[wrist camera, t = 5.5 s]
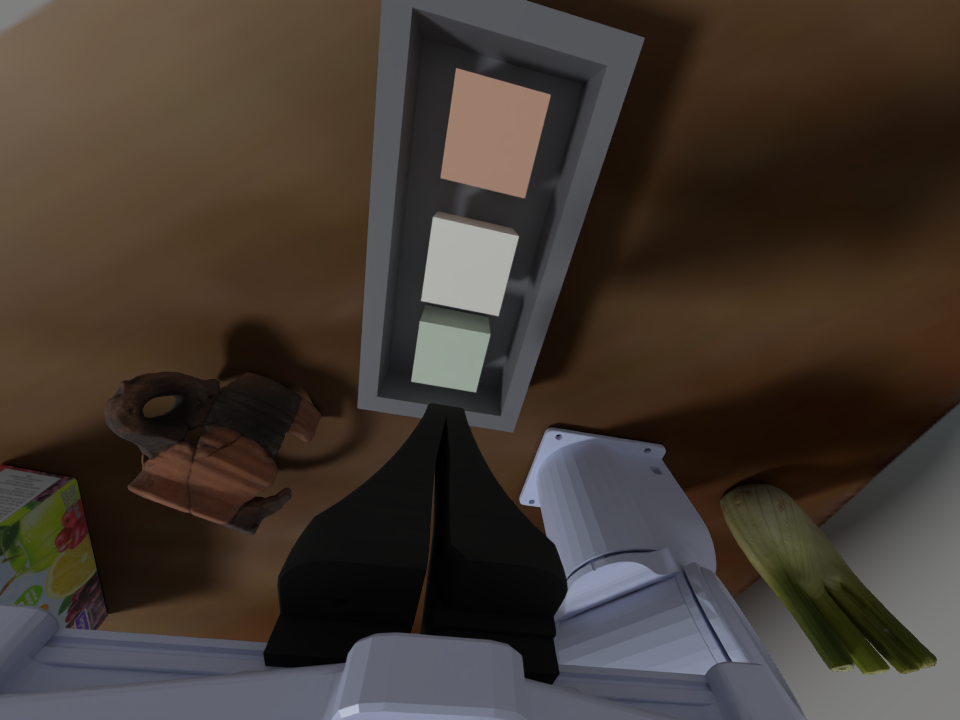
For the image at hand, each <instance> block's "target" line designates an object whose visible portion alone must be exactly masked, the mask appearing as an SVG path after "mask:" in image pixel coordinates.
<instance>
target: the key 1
mask: <svg viewBox="0 0 960 720" xmlns="http://www.w3.org/2000/svg"><path fill="white" fill-rule="evenodd" d="M490 335H491V334H490V326H489V318H488V317H485V316H480V315H475V314H470V313H465V312H460V311H454V310H449V309H444V308H439V307H434V306H429V305H425V308H424V310H423V313H422V316H421V319H420V323H419V330H418V337H417V344H416V351H415V358H414V365H413V372H412V379H411V382H416V383H422V384H428V385H434V386H440V387H446V388H452V389H458V390H464V391H470V392H476V390H477V386H478V382H479V378H480V374H481V371H482V367H483V363H484V359H485V355H486V351H487V347H488V343H489V339H490Z"/></svg>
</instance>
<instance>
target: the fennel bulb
mask: <svg viewBox="0 0 960 720" xmlns="http://www.w3.org/2000/svg"><path fill="white" fill-rule="evenodd" d="M720 505H721V508H722V511H723V515H724V519H725V521H726V523H727V525H728V527H729V529H730V530H731V532H732V534H733V536H734V537H735V539H736V541H737V543H738V545H739V546H740V547H741V549H742V550H743V552H744V553H745V555H746V556H747V558H748V559H749V561H750V562H751V563H752V565H753V566H754V567H755V569H756V570H757V571H758V573H759V574H760V575H761V576H762V577H763V579H764V580H765V581H766V582H767V583H768V585H769V586H770V587H771V588H772V590H773V591H774V592H775V594H776V595H777V596H778V597H779V599H780V600H781V601H782V602H783V604H784V605H785V606H786V608H787V609H788V610H789V611H790V613H791V614H792V615H793V617H794V619H795V620H796V621H797V623H798V624H799V626H800V627H801V629H802V630H803V632H804V633H805V635H806V636H807V637H808V639H809V640H810V641H811V643H812V644H813V646H814V647H815V649H816V651H817V652H818V654H819V655H820V657H821V658H822V659H823V661H824V662H825V663H826V665H827V666H828V668H829V669H830V670H832V671H837V672H838V671H842V672H843V671H850V670H852V669H853V668H854V665H855V664H856V665H857V667H858V668H859V669H860V671H861V672H862V673H863V674H866V675H874V674H876V673H882V672H886V671H887V670H889V668H890V667H889V666H888V665H887V663H886V662H885V661H884V660H883V658H881V656H880V655H879V654H878V652H879V653H880V654H881V655H882V656H883V657H884V658H885V659H886V660H887V661H888V662H889V663H890V664H891V665H892V666H893V667H895V669H896V670H897V671H898V672H900V673H903V674H907V673H911V672H915V671H918V670H920V669H922V668H930V667H931V666H935V664H936V661H937V659H936V657H935V656H934V655H933V654H932V653H931V652H930V651H929V650H928V649H927V648H926V647H925V646H924V645H922V644H921V643H920V642H919V640H918V639H917V638H916V637H915V636H914V635H913V634H912V633H911V632H910V631H908V630H907V629H906V628H905V627H904V626H903V625H902V624H901V623H900V622H899V621H898V620H897V619H896V618H895V617H894V616H893V615H892V614H891V613H890V612H889V611H888V610H887V609H886V608H885V607H884V605H883V604H882V603H881V602H880V601H879V600H878V599H877V598H876V597H875V596H874V595H873V594H872V593H871V592H870V591H869V590H868V589H867V588H866V587H865V586H864V585H863V583H862V582H861V581H860V580H859V579H858V578H857V577H856V575H855V574H854V573H853V572H852V570H851V569H850V568H849V566H848V565H847V564H846V563H845V561H844V560H843V558H842V557H841V555H840V554H839V553H838V551H837V550H836V548H835V547H834V545H833V544H832V543H831V542H830V541H829V539H828V538H827V537H826V536H825V535H824V534H823V533H822V531H821V530H820V529H819V528H818V527H817V525H816V524H815V523H814V522H813V521H812V520H811V519H810V517H809V516H808V515H807V514H806V513H805V512H804V511H803V510H802V509H801V508H800V507H799V506H798V505H797V504H796V503H795V501H794V500H793V499H792V498H791V497H790V496H789V495H788V494H787V493H785V492H784V491H782V490H781V489H779V488H777V487H774V486H772V485H769V484H758V483H757V484H746V485H741V486H739V487H736V488H735V489H733V490H731V491H730V492H729V493H727V494H725V495H724V497H722V499H721V500H720ZM866 639H867V640H868V641H869V642H870V643H871V644H872V645H873V646H874V647H875V648H876V650H877V651H878V652H877V651H876V650H875V649H874V648H873V647H872V645H870V643H869V642H868V641H867V640H866Z"/></svg>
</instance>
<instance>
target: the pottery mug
mask: <svg viewBox="0 0 960 720" xmlns="http://www.w3.org/2000/svg"><path fill="white" fill-rule="evenodd" d="M219 384H220V382H219V381H218V380H217V379H209V380H201V379H198V378H195V377H192V376H189V375H185V374H182V373H178V372H159V373H149V374H144V375H140V376H137V377H135V378H134V379H132V380H129V381H123V382H121V383H120V384H119V390H118V391H117V392H116V393H115V395H114V397H113V398H111V399H109V400H108V401H107V403H106V406H105V420H106V423H107V425H108V427H109V428H110V429H111V430H112V431H113V432H114V433H115V434H116V435H118V436H119V437H121V438H123V439H125V440H128V441H130V442H132V443H134V444H136V445H137V446H138V447H139V448H140V450H141V452H142V454H143V455H142V462H141V463H142V471H141V472H140V474H139V475H138V476H137V477H136V478H135V479H134V480H133V481H132V482H131V483H130V484H129V485H128V489H129V490H130V491H131V492H133V493H135V494H137V495H139V496H141V497H144V498H147V499H149V500H152V501H154V502H157V503H160V504H163V505H165V506H168V507H171V508H174V509H177V510H179V511H182V512H185V513H191V514H193V515H194V516H197V517H200V518H203V519H206V520H208V521H211V522H215V523H217V524H222V525H223V526H225V527H227V528H230V529H232V530H236V531H238V532H241V533H244V534H251V535H253V534H255V532H256V531H257V529H258V527H259V524H260V523H261V521H262V520H263V519H264V518H265V517H267V516H269V515H271V514H273V513H275V512H276V511H278V510H279V509H281V508H282V506H283V505H284V504H285V503H286V502H287V501H289V500H290V499H291V497H292V493H291V489H290V488H285V489H283V490H281V491H280V492H279V493H277V494H276V495H275V496H270V497H268V498H263V497H255V496H256V495H258V494H260V493H261V492H263V491H264V490H265V489H266V488H268V487H269V486H270V485H272V484H273V483H274V480H275V477H276V475H277V466H276V464H275V462H274V460H273V458H275V457H276V456H277V454H278V451H279V449H280V446H281V443H282V441H283V440H284V437H285V433H286V432H288V433H290V434H293V435H294V436H297V437H298V438H300V439H301V440H302V441H303V442H309V441H311V440H312V438H313V436H314V434H315V431H316V428H317V426H318V423H319V421H320V419H321V413H320V412H319V411H318V410H317V408H315V407H314V406H313V405H312V404H311V403H309V402H307V401H306V400H305V399H303V398H301V396H300V395H298V394H296V393H295V392H293V391H291V390H290V389H289V388H288V387H287V386H284V385H281V384H280V383H278V382H277V381H275V380H272V379H270V378H268V377H264V376H261V375H258V374H254V373H250V372H247V373H245V374H244V375H242V376H241V377H240V378H238V379H237V380H236V381H233V382H231V383H230V384H228V385H227V386H225V387H223V388H221V389H220V387H219ZM170 395H172V396H174V397H175V398H176V404H175V405H174V406H173V408H172V409H171V411H169V412H167V413H165V414H164V415H161V416H157V417H154V418H146V417H144V415H143V411H142V410H143V407H144V405H145V404H146V403H147V402H148V401H149V400H151V399H153V398H156V397H161V396H170ZM202 426H204V427H203V431H202V434H201V436H200V439H199V441H186V440H184V438H185V436H186V435H187V432H188V431H190V430H193V429H196V428H199V427H202Z"/></svg>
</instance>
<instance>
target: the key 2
mask: <svg viewBox="0 0 960 720" xmlns="http://www.w3.org/2000/svg"><path fill="white" fill-rule="evenodd" d="M550 97H551V95H550V94H546V93H543V92H539V91H536V90H532V89H529V88H525V87H522V86H518V85H514V84H511V83H507V82H504V81H500V80H497V79H493V78H490V77H486V76H483V75H479V74H476V73H472V72H468V71H465V70H461V69H458V68H456V73H455V80H454V87H453V93H452V100H451V107H450V114H449V121H448V128H447V135H446V142H445V149H444V156H443V163H442V170H441V177H440V178H442V179H446V180H450V181H454V182H459V183H463V184H467V185H471V186H475V187H479V188H483V189H488V190H492V191H496V192H500V193H504V194H508V195H512V196H516V197H521V198H525V196H526V192H527V188H528V184H529V180H530V176H531V172H532V168H533V164H534V160H535V156H536V152H537V148H538V144H539V140H540V136H541V132H542V128H543V124H544V120H545V116H546V112H547V108H548V104H549V100H550Z"/></svg>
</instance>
